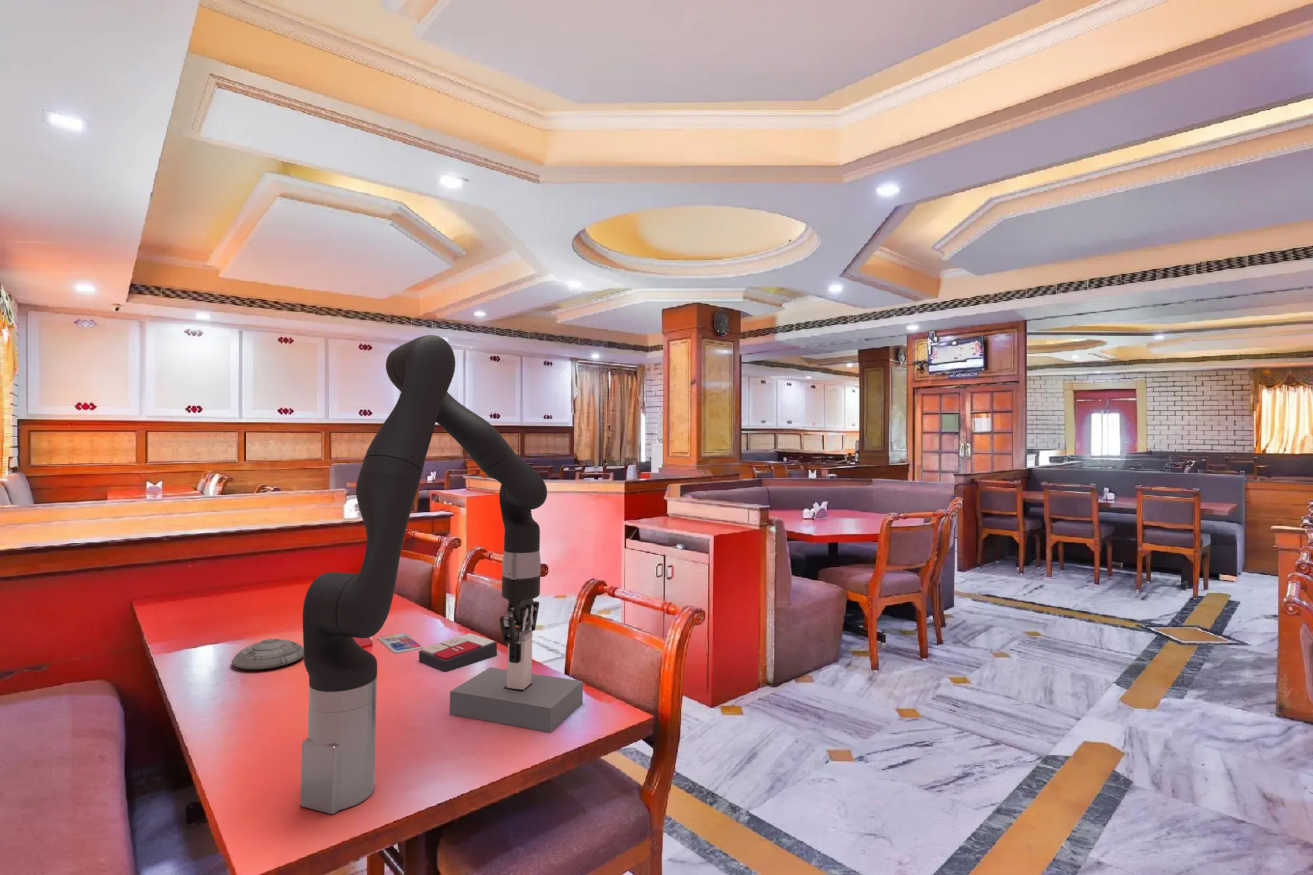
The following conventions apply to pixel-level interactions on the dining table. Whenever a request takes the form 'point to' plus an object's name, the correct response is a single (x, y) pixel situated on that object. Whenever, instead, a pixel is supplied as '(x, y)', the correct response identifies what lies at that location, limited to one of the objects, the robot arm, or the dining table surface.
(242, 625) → the dining table surface
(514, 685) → the pale square peg
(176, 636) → the dining table surface
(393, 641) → the smartphone
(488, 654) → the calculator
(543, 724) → the header
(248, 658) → the flying saucer
